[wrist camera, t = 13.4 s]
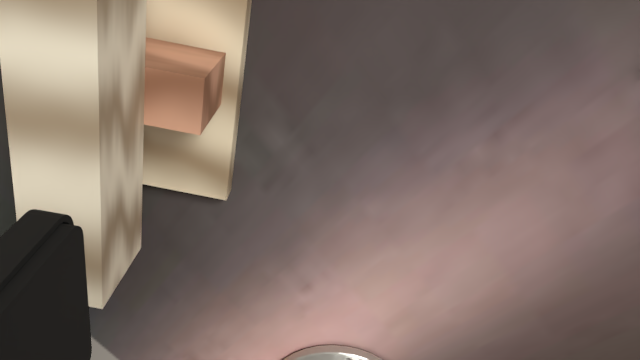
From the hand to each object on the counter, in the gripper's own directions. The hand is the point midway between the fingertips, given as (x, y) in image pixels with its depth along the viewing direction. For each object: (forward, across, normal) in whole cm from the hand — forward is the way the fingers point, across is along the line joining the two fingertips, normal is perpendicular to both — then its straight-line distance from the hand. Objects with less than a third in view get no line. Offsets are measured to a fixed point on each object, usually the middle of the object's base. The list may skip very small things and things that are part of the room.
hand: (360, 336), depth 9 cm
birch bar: (+23, +14, +6) cm, 28 cm away
